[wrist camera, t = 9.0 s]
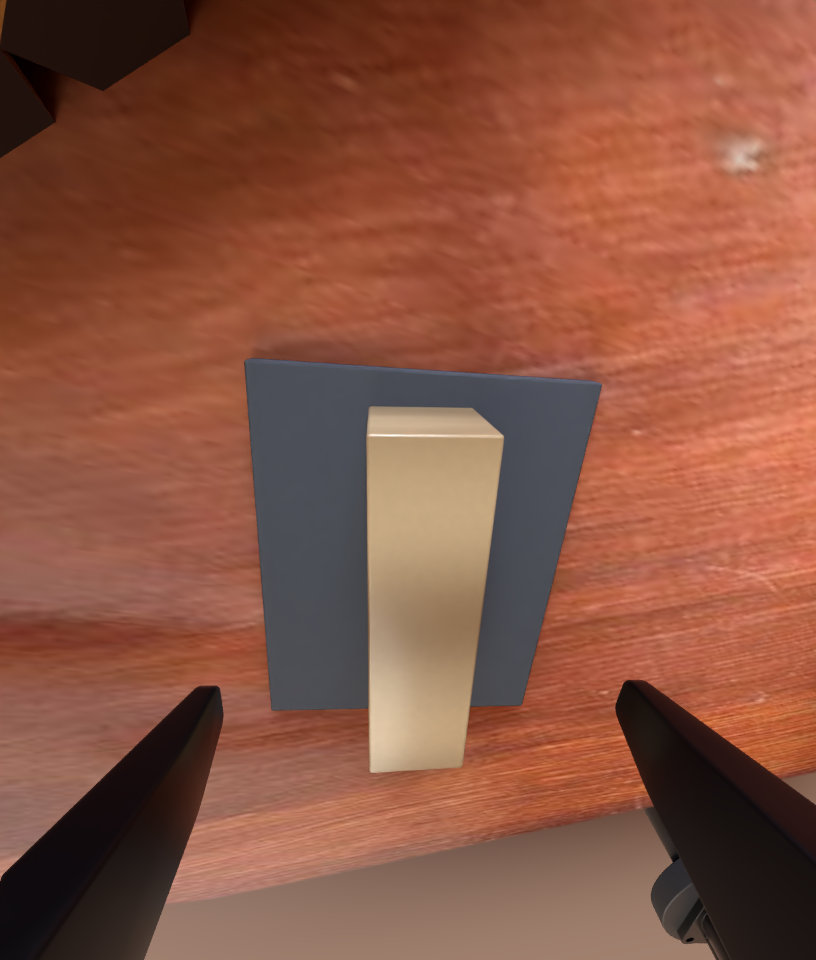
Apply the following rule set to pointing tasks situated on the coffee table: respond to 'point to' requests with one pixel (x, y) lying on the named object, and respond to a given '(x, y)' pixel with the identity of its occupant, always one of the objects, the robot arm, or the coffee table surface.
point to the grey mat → (343, 516)
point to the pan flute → (76, 50)
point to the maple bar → (426, 578)
